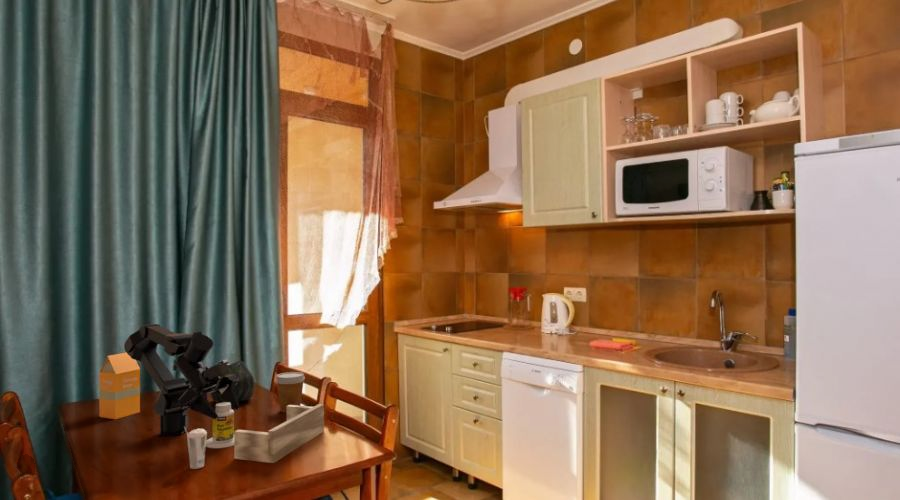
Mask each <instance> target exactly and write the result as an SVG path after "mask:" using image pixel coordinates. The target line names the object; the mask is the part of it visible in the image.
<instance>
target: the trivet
mask: <svg viewBox="0 0 900 500" xmlns="http://www.w3.org/2000/svg"><path fill="white" fill-rule="evenodd" d="M231 447H234V438H233V439H232V440H231V441H229V442H225V443H215V442H214V441H213V438H212V437H210V438H208V439H206V447H205V448H209V449H225V448H231Z"/></svg>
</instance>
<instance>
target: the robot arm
mask: <svg viewBox="0 0 900 500" xmlns="http://www.w3.org/2000/svg"><path fill="white" fill-rule="evenodd" d="M158 345H160V346H162V347H164V349H163V350H164V351H163V352H165V353H166V354H167V355H169V357H176V356H178V358H177V359H175V360H173V366H172V369H173V371H177V370H179V371H180V373H181V374H182V375H183V377H179V378H176V377H174V375H173V373H172V372H171V370H170V369H169V368H168V367H167V365H166V363H165V362H164V361H163V359H162V358H161V356H160V354H158V352H157V348H158ZM213 346H214V341H213V340H212V339H211V338H210V337H209V336H208V335H205V334H202V331H196V332H195V331H194V332H193V334H192V333H176V332H174V331H172V330H170V329H167V328H165V327H162V326H161V325H160V324H157V323H151V324H144V325H141V326H140V327H139V329H138V330H136V331H135V332H134V333H131V334H130V335H129V336H128V337H127V339H126V340H125V342H124V346H123V347H124V351H125V353H126V352H127V354H128V355H129V356H130V357H131V358H132V359H134V360H136V361H137V362H140V363H141V365H143V367H144V368H145V370H146V371H147V373H148V374H149V376H150V378H151V379H152V380H153V382H154V384H155V385H156V386H157V388H158V390H159V393H158V394H159V395H158V400H157V401H156V403H155V404H154V405H153V406H154V411H155V412H154V414H157V415H159V416H160V418H159V419H160V421H159V422H160V424H159V425H160V426H159V427H160V430H159V431H160V432H158V433H157V436H163V437H164V436H178V435H179V436H181V435H182V434H184V433H185V432H186V431H185V428H186V430H188V429H189V414H188V413H187V410H192V411H194V412H197V413H199V414H201V415H204V416H206V417H209V418H210V419H212V420H213V419H216V418H217V417H218V415H217V414H216V412H215V411H216V409H215V408H214V407H213V405H212V404H211V403H210V402H209V400H208V394H211V393H212V392H216V393H217V394H219V395H220V396H219V397H220V398H221V399H223V400H224V401H225V402H229V403H231V408H233V409H235V410H239V409H240V403H239V401H238V400H237V397H236V393H235V386H236V385H237V381H238V380H239V379H238V378H237V376H236V375H235V374H231V375H228V376H224V377H223V378H222V379H221V377H220V376H222V375H224V374H226V373H229V372H230V369H231V364H232V363H230V361H229V360H228V359H222V360H221V361H218V364H215V365H213V366H210V365H206V366H205V365H204V363H203V361H205V359H206V357H207V356H208V354H209V353H210V351H211V350H212V348H213ZM220 379H221V380H220ZM219 380H220V382H219V383H217V381H219ZM191 386H192V387H191ZM184 427H185V428H184Z"/></svg>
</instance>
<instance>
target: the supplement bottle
mask: <svg viewBox="0 0 900 500" xmlns="http://www.w3.org/2000/svg"><path fill="white" fill-rule="evenodd" d="M214 410H215V412H216V414H217V415H218V417H217V418H216V419H213V418H212V437H211V438H213V441H214V442H215V443H225V442H229V441H231V440H232V439H233V438H234V431H235V424H234V423H235V411H234V410H233V409H232V406H231V403H229V402H222V403H216V404H215V408H214Z"/></svg>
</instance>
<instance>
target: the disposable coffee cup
mask: <svg viewBox="0 0 900 500" xmlns="http://www.w3.org/2000/svg"><path fill="white" fill-rule="evenodd" d="M305 378H306V377H305V374H304V373H303V372H301V371H300V372H299V371H289V372H282V373H279V374H276V378H275V381H276V386H277V395H278V402H279V406H280V408H279V410H280V412H281V413H284V414H287V406H288V405H298V406H302V405H301V404H302V396H303V389H304V388H303V387H304V381H305Z"/></svg>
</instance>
